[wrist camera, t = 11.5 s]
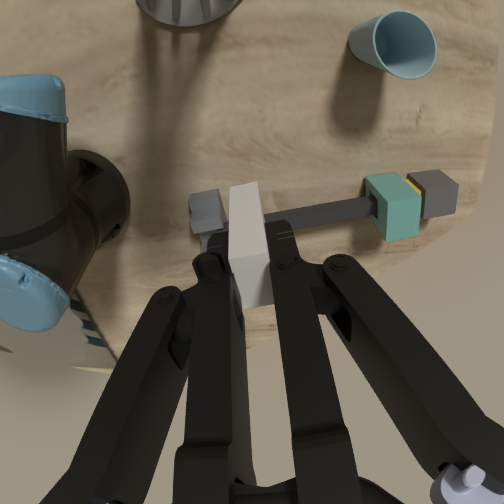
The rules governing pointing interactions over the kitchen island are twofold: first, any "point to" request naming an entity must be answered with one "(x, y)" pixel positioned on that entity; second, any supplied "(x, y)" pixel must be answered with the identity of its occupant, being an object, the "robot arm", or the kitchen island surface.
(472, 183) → the kitchen island surface
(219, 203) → the grey stepped brick
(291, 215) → the dark grey long bar
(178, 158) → the kitchen island surface
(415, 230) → the sleeve
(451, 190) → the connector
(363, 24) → the cup
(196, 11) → the grey lattice tower
